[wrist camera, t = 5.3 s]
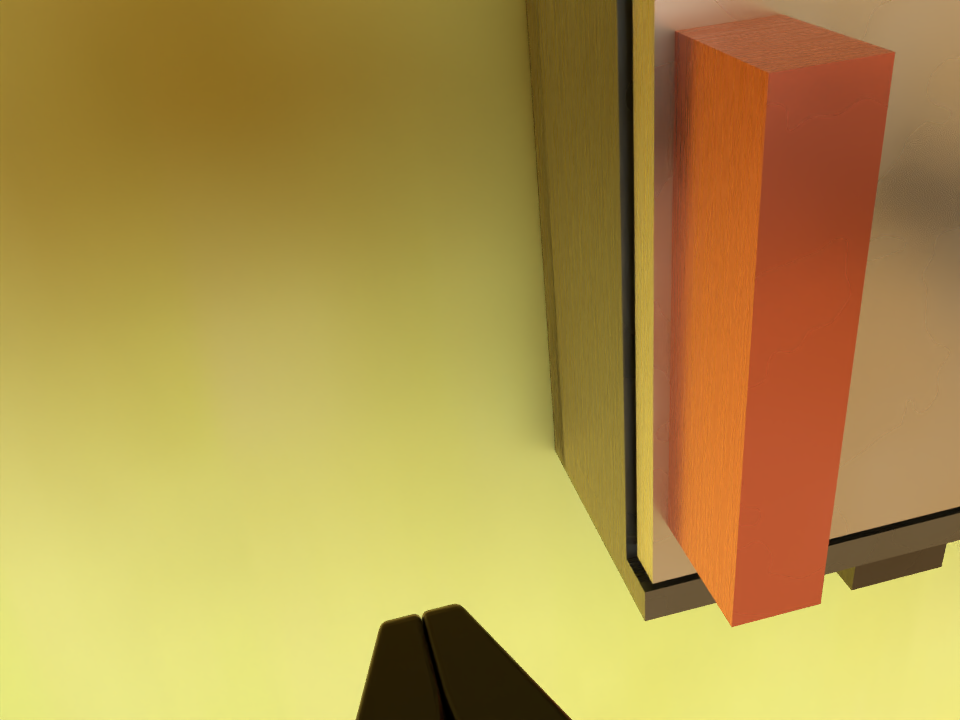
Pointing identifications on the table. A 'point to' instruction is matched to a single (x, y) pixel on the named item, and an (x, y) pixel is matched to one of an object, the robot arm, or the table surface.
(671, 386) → the lid
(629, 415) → the grey box
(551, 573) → the table surface
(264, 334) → the table surface
